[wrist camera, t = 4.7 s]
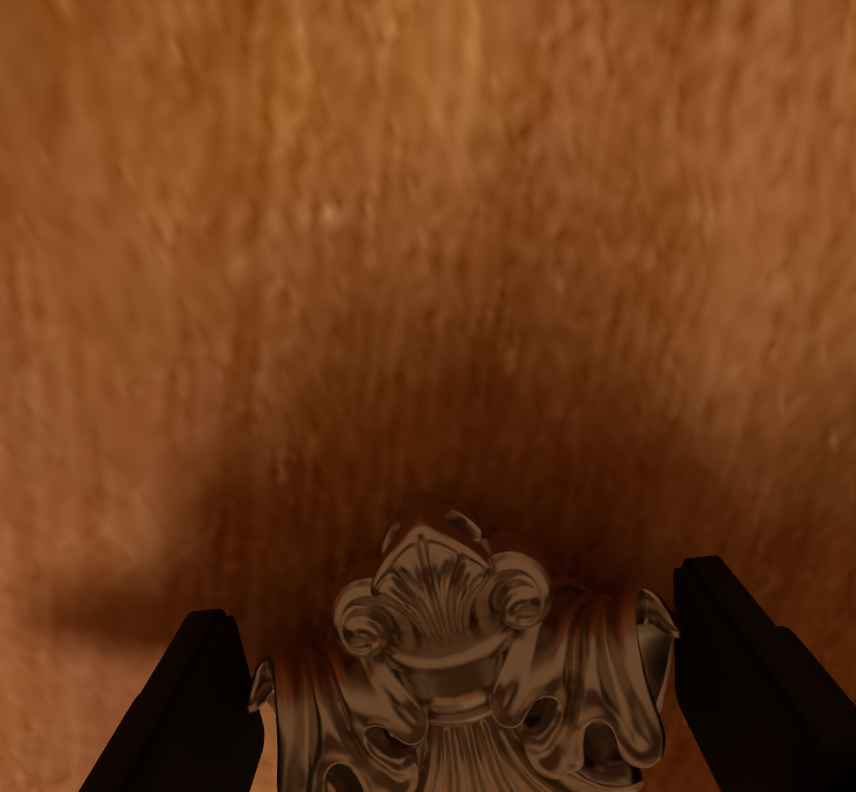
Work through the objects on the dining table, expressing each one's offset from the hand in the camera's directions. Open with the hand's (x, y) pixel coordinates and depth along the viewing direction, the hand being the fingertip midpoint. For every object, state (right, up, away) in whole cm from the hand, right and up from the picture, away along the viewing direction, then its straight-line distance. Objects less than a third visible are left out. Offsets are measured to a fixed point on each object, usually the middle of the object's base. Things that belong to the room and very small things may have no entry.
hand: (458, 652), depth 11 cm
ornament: (0, 0, +1) cm, 1 cm away
